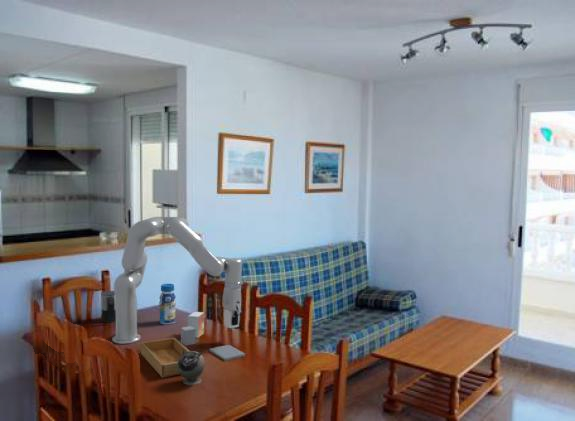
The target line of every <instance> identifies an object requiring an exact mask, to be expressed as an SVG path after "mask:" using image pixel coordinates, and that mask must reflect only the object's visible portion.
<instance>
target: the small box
mask: <svg viewBox="0 0 575 421" xmlns="http://www.w3.org/2000/svg"><path fill="white" fill-rule="evenodd" d="M188 326H192V327H193V328H195V329H196V339H199V338H200V337H201V336H202V335H204V334H205V312H203V311H202V312H201V311H193V312H192V313H190V314H189V315H187V327H188Z"/></svg>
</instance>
